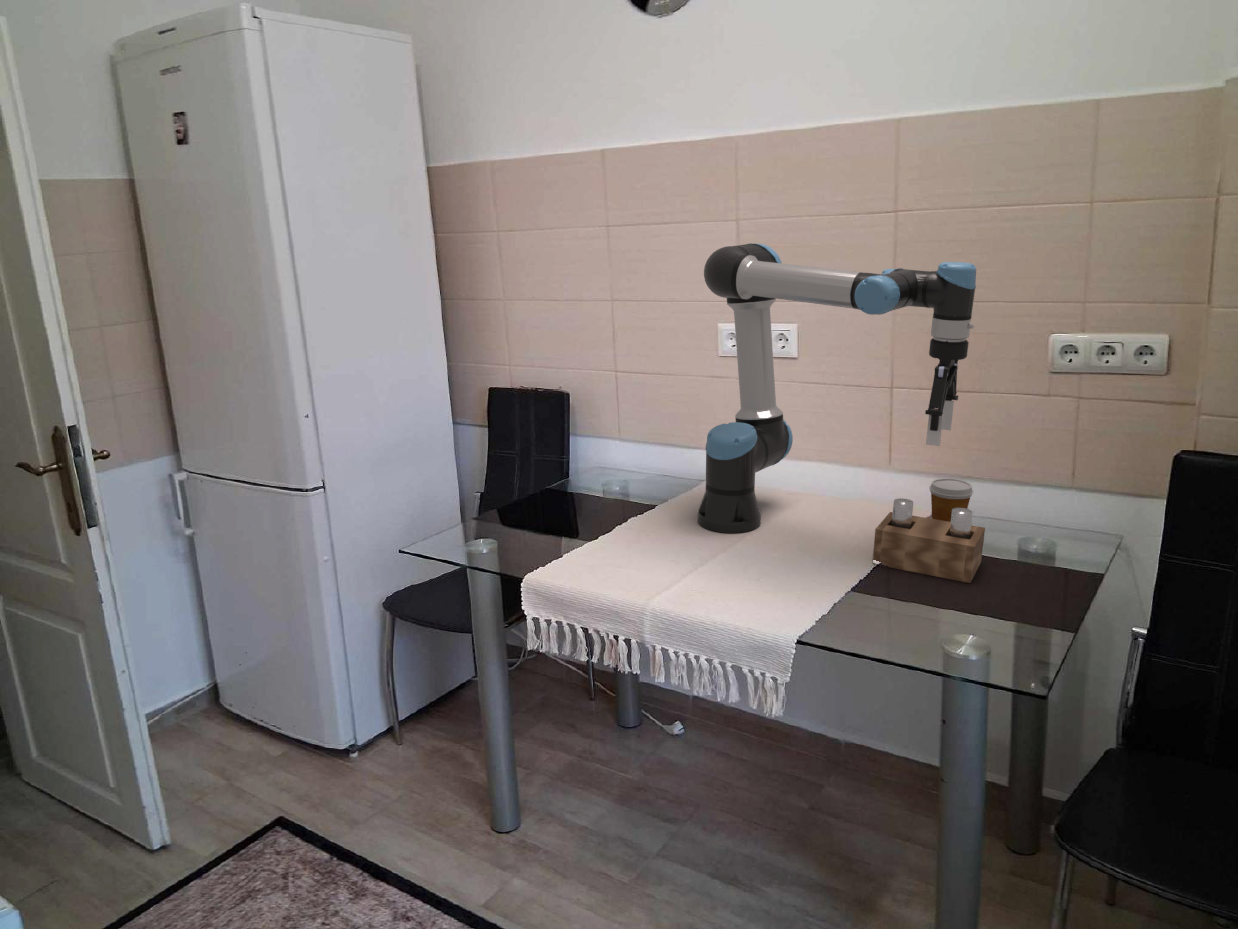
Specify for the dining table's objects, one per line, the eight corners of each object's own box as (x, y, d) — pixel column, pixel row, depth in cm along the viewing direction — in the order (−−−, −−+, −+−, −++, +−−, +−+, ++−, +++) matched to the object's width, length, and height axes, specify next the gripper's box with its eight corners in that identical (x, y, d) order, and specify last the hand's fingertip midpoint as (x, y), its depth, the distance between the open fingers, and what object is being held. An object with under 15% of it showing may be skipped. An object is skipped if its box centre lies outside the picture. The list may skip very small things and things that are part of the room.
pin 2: (946, 545, 190) (950, 512, 188) (950, 539, 193) (954, 506, 191) (966, 549, 188) (970, 515, 186) (970, 542, 191) (974, 509, 189)
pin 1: (888, 535, 196) (891, 502, 194) (893, 529, 199) (896, 497, 197) (907, 538, 194) (910, 505, 192) (912, 532, 197) (915, 500, 195)
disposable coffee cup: (966, 527, 215) (971, 479, 211) (970, 542, 206) (975, 492, 202) (924, 524, 217) (928, 476, 214) (925, 538, 208) (930, 489, 205)
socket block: (872, 563, 195) (875, 529, 193) (887, 545, 205) (890, 511, 203) (970, 583, 185) (974, 546, 183) (980, 562, 195) (985, 527, 193)
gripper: (959, 350, 177) (946, 454, 183) (977, 331, 198) (965, 425, 204) (919, 346, 180) (908, 449, 187) (941, 328, 201) (931, 421, 208)
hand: (938, 437), depth 195 cm, fingers open, 13 cm apart
